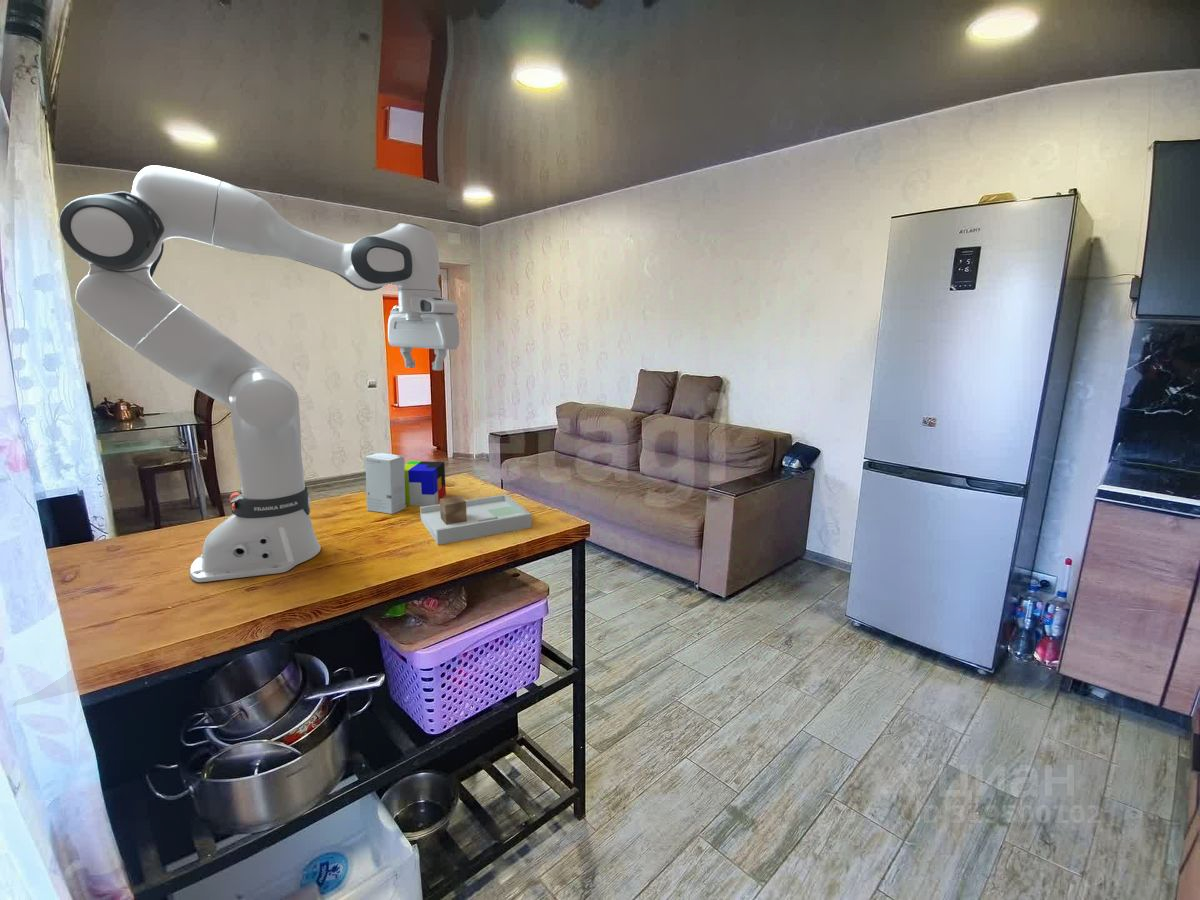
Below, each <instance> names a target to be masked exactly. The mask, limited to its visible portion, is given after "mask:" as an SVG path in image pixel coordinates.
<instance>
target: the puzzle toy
mask: <svg viewBox="0 0 1200 900" xmlns="http://www.w3.org/2000/svg"><path fill="white" fill-rule="evenodd" d="M404 465H405V506H417V507H419V506H420V507H423V506H430V505H437V504H438V503H440V499H442V498H445V497H446V495H447V490H446V470H445V462H444V461H428V460H427V461H422V460H421V461H419V460H415V461H414V460H409V461H407V462H406V463H404Z"/></svg>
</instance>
